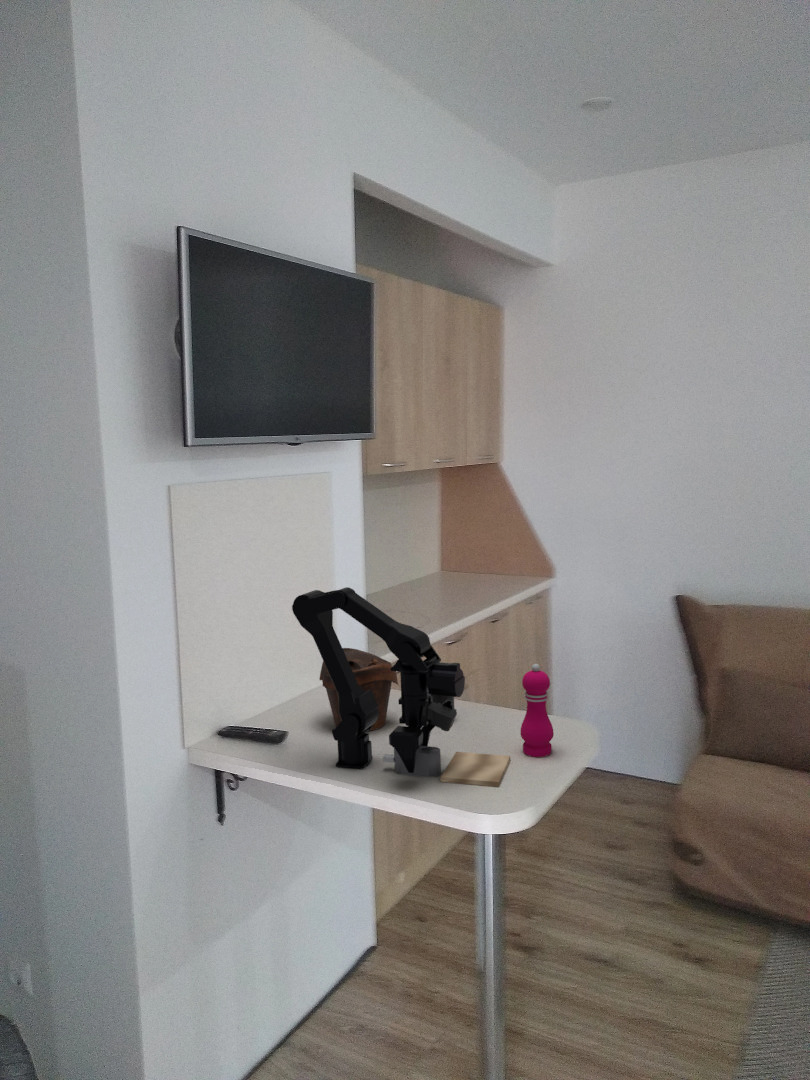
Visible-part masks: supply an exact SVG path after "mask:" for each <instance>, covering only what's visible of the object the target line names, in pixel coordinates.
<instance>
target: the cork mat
mask: <svg viewBox="0 0 810 1080" xmlns="http://www.w3.org/2000/svg"><path fill="white" fill-rule="evenodd" d="M510 762H511V755H502V754H501V755H500V754H492V753H491V754H489V753H478V752H477V753H476V752H463V751H455V752H454V755H453V756H452V758H451V760H450V761H449V763H448V765H447V766H446V768H445V769H444V771H443V773H441V776H440V782H441V783H450V784H451V783H452V784H461V785H474V786H486V787H497V788H499V787H500V785H501V783H502V781H503V779H504V776H505V773H506V772H507V769H508V767H509V764H510Z"/></svg>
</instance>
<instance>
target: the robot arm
mask: <svg viewBox="0 0 810 1080" xmlns="http://www.w3.org/2000/svg"><path fill="white" fill-rule="evenodd" d="M338 609H339V610H341V611H343V613H345V614H347V615H348V616H350V617H351V618H353V619H354V620H355V621H357V622H358V623H359V624H361V626H364V627H365V628H366V629H368V630H369V631H370V632H372V633H373V634H375V635H376V636H378V637H379V638H380V639H382V640H383V642H385V644H386V646H387V648H388V650H389V651H390V653H392V654H393V656H395V657H396V658H397V660H396V662H395V663H394V665H392V667H391V668H390V670H391V671H396V673H397V672H398V673H399V674H400V675H399V676H400V677H399V678H400V694H401V695H400V698H398V705H401V716H400V717H398V720H399V721H398V722H399V724H403V725H398V726H396V727H395V728H394V729H393V730H392V732H390V733H389V735H388V743H389V746H391V747H392V748H393V749H394V748H395V749H396V751H397V753H398V754H399V756H400V758H401V759H402V761H403V763H404V765H405V767H406V769H407V771H408V772H409V773H413V772H414V768H415V760H416V752H417V749H419V748H420V746H429V742H430V741H429V740H430V738H431V733H432V730H433V729H434V728H435V727H437V728H439V729H441V730H442V731H443V732H449V731H450V730H451V728H452V727H453V725H454V722H455V720H456V716H457V708H455V701H454V702H453V701H451V700H449V699H447V700H446V701H445V702H444V703H443V704H442V705H441V703H438V704H437V703H434V702H433V697H432V696H431V694H428V691H429V692H431V693H432V694H433V695H442V696H452V697H454V698H461V697H462V695H463V693H464V690H465V685H466V683H465V682H466V678H465V677H466V676H464V672H463V670H462V668H461V664H460V662H442V659H441V657H440V655H439V654H438V653H437V651H436V650H435V649H434V647H433V646H432V644H431V641H430V636H428V634H427V633H426V632H424V631H422V630H421V629H418V628H416V627H414V626H412V625H410V624H409V625H408V624H406V623H405V624H404V623H401V622H398V621H397V620H395V619H393V618H392V616H391V617H390V616H389V615H388V614H387V613H385V612H384V611H382V610H381V609H379V608H378V607H377V606H375V605H374V604H372V603H371V602H370V601H368V600H367V599H365V598H364V597H362V596H361V595H359V594H358V593H356V591H355V590H354V589H353V588H351V587H347V586H346V587H344V588H340V589H335V590H330V591H327V592H324V591H321V590H319V589H315V590H312V591H309V592H305V593H303V594H300V595H298V596H297V597H295V599H294V600H293V603H292V606H291V610H292V613H293V615H294V617H295V618H296V620H297V621H298V623H299V625H300V626H301V627H302V628H303V629H304V630H305V631H307V633H309V635H311V636H312V638H313V641H314V643H315V646H316V647H317V649H318V652H319V654H320V656H321V659H322V662H323V661H324V663H325V666H326V668H327V670H328V672H329V675H330V677H331V679H332V682H333V684H334V686H335V688H336V691H337V693H338V696H339V714H340V717H341V722H340V723H339V724H338V725H337V726H335V727H334V728H333V729H332V730H331V734H332V736H333V737H332V738H333V739H334V741H336V742H337V758H338V760H337V762H336V763H335V766H336V767H341V768H353V769H364V768H366V766H367V765H368V764H369V763H370V761H372V759H373V757H374V756H373V751H372V748H373V747H372V746H373V745H372V740H370V733H368V732H371V731H372V730H371V728H372V725H373V724H374V723H375V722H376V721H377V718H378V716H379V711H378V708H377V707H379V705H378V703H377V702H376V701H375V698H374V695H373V692H372V691H371V690H369V691H367V692H365V691H364V690H363V689H362V688H361V687H360V686H359V685H358V683H357V680H356V678H355V676H354V674H353V671H352V669H351V667H350V665H349V662H348V660H347V658H346V655H345V653H344V651H343V649H342V648H343V647H342V645H341V641H340V640H339V638H338V635H337V632H336V631H335V629H334V625H333V622H334V621H333V617H334V616H333V615H334V612H333V610H338ZM423 657H425V659H422V658H423ZM370 730H371V731H370Z"/></svg>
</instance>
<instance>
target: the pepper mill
mask: <svg viewBox="0 0 810 1080" xmlns="http://www.w3.org/2000/svg"><path fill="white" fill-rule="evenodd" d="M550 686H551V682H550V677H549V675H548V674H547V673H546V672H544V670H543V671H542V670H541V667H540V665H539V664H538V663H534V664H532V665H531V670H530V671H527V672H526V673H525V674H524V675H523V677H522V687H523V690H525V692H524V699H525V700H526V712H525V716H524V718H523V721H522V723H521V726H520V737H521V738H522V740H523V741H524V742H523V743H522V752H523V754H525V755H526V756H528V757H534V758H543V757H547V756H549V755H551V754H552V750H553V749H552V747H553V746H552V743H551V741H552V739H553V738H554V727H553V724H552V722H551V720H550V718H549V715H548V711H547V700H548V699H549V696H548V695H549V693H548V689H550Z"/></svg>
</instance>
